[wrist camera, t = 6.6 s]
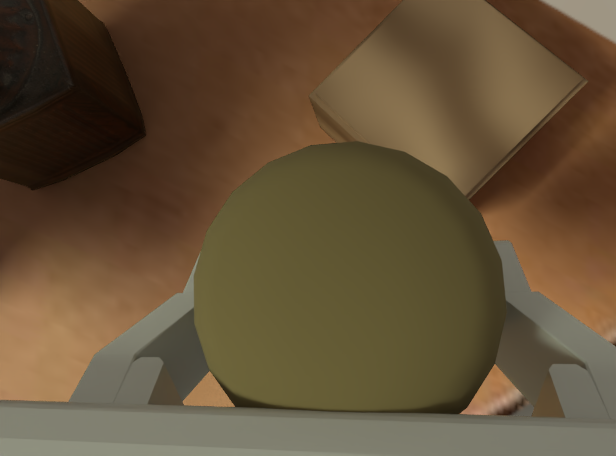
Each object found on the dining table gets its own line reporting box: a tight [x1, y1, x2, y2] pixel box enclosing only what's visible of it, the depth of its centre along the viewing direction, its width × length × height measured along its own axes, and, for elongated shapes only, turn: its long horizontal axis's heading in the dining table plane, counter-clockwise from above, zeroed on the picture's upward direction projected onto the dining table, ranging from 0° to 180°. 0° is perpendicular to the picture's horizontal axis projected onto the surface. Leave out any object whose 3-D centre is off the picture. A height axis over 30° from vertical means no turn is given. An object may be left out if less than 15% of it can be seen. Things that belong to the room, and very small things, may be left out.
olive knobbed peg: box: [194, 141, 507, 414], centre depth 12 cm, size 6×6×11 cm
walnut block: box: [309, 0, 588, 200], centre depth 29 cm, size 11×11×6 cm
